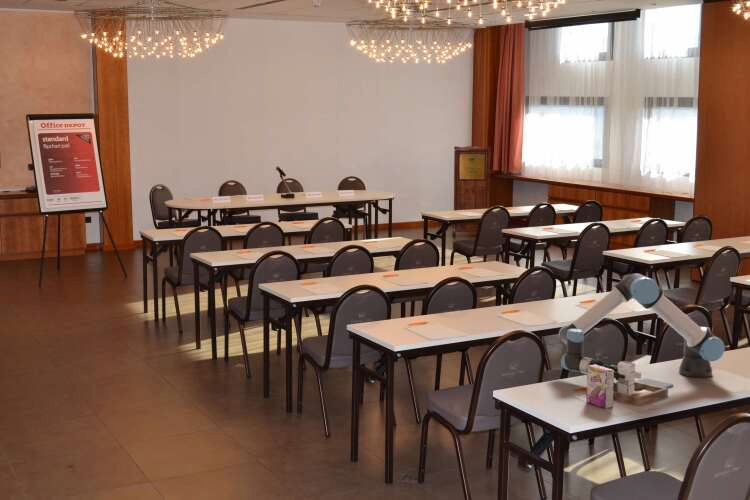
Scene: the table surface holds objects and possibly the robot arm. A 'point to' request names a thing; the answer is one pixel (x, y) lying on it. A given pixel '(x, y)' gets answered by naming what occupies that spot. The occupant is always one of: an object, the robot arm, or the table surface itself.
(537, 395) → the table surface
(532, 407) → the table surface
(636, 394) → the top offcut
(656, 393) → the walnut frame
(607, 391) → the candy bar box
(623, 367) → the syrup box
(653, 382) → the grey mat
